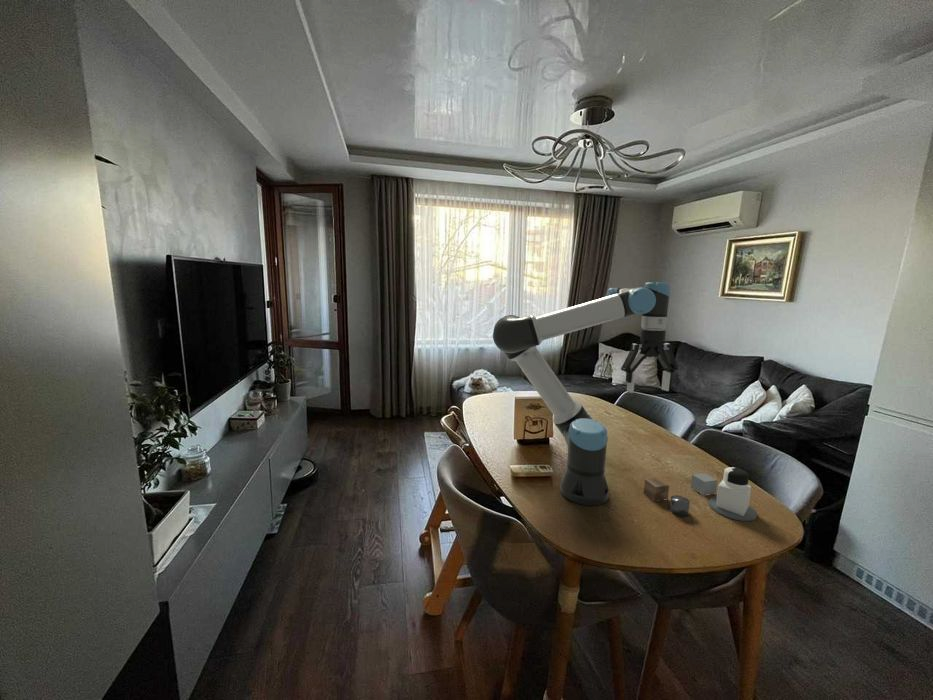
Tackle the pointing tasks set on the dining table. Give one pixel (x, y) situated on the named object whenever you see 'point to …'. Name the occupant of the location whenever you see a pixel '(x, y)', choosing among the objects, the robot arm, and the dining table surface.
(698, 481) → the grey block
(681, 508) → the metal tin
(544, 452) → the dining table surface
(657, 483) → the walnut block
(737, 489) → the medicine bottle
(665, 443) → the dining table surface
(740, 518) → the slate coaster
